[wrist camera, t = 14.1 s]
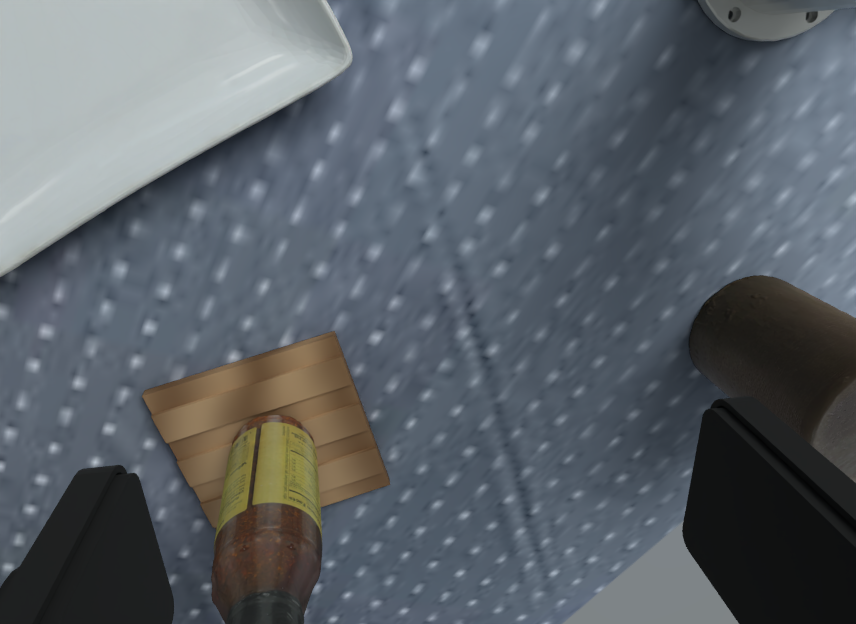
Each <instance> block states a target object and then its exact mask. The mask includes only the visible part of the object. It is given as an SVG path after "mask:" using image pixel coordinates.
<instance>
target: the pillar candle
mask: <svg viewBox="0 0 856 624" xmlns="http://www.w3.org/2000/svg"><path fill="white" fill-rule="evenodd" d="M689 348H690V355H691V358H692V361H693V363H694V365H695V366H696V368H697V369H698V370H699V371H700V372H701V373H702V374H703V375H704V376H705V377H707V378H708V379H709V380H710V381H711V382H712V383H714V384H715V385H716V386H717V387H718V388H719V389H721V390H722V391H723V392H724V393H725V394H727V395H728V396H729V397H730V398H735V397H744V396H750V397H754V398H755V399H757V400H758V401H759V402H761V403H762V404H763V405H764V406H765V407H767V408H768V409H769V410H770V411H771V412H772V413H774V414H775V415H776V416H777V417H778V418H780V419H781V420H782V421H783V422H784V423H785V424H787V425H788V426H789V427H790V428H791V429H793V430H794V431H795V432H796V433H797V434H798V435H800V436H801V437H802V438H803V439H804V440H806V441H807V442H808V443H809V444H810V445H811V446H813V447H814V448H815V449H816V450H817V451H819V452H820V453H821V454H822V455H823V456H824V457H826V458H827V459H828V460H829V461H830V462H832V463H833V464H834V465H835V466H836V467H837V468H839V469H840V470H841V471H842V472H843V473H845V474H846V475H847V476H848V477H849V478H851V479H852V480H853V481H854V482H855V483H856V318H854V317H852V316H851V315H849V314H847V313H845V312H842V311H840V310H838V309H837V308H835V307H833V306H831V305H829V304H828V303H825V302H823V301H822V300H820V299H818V298H816V297H814V296H812V295H810V294H808V293H807V292H805V291H803V290H801V289H798V288H796V287H795V286H793V285H791V284H789V283H787V282H785V281H783V280H781V279H778V278H774V277H769V276H763V275H760V276H750V277H745V278H742V279H741V280H740V279H739V280H737V281H734V282H732V283H731V284H729V285H727V286H725V287H724V288H723V289H721V290H720V291H719V292H718V293H716V294H714V295H713V296H712V297H711V298H710V299H709V300H708V301H707V302H706V303H705V305H704V306H703V308H702V309H701V310H700V312H699V314H698V316H697V318H696V319H695V322H694V324H693V327H692V330H691V334H690V340H689Z"/></svg>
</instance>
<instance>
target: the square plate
mask: <svg viewBox="0 0 856 624" xmlns="http://www.w3.org/2000/svg"><path fill="white" fill-rule="evenodd" d="M351 63H352V51H351V48H350V45H349V43H348V41H347V39H346V37H345V35H344V33H343V31H342V28H341V27H340V25H339V23H338V21H337V19H336V17H335V15H334V13H333V12H332V10H331V8H330V6H329V4H328V2H327V1H326V0H0V277H1V276H3V275H5V274H7V273H8V272H10V271H12V270H14V269H15V268H17V267H18V266H20V265H21V264H22V263H24V262H26V261H27V260H29V259H30V258H32V257H33V256H35V255H36V254H38V253H39V252H41V251H42V250H44V249H45V248H47V247H49V246H50V245H52V244H53V243H55V242H56V241H58V240H59V239H61V238H62V237H64V236H66V235H67V234H69V233H70V232H72V231H73V230H75V229H77V228H78V227H79V226H81V225H82V224H84V223H86V222H87V221H89V220H91V219H93V218H94V217H95V216H97V215H98V214H100V213H102V212H104V211H105V210H106V209H107V208H109V207H111V206H112V205H114V204H116V203H117V202H119V201H121V200H122V199H124V198H126V197H127V196H129V195H131V194H132V193H134V192H136V191H137V190H139V189H140V188H142V187H144V186H146V185H147V184H149V183H151V182H152V181H154V180H156V179H158V178H159V177H161V176H163V175H165V174H166V173H168V172H170V171H171V170H173V169H175V168H177V167H178V166H180V165H182V164H183V163H185V162H187V161H189V160H190V159H192V158H194V157H196V156H198V155H200V154H201V153H203V152H205V151H206V150H208V149H210V148H212V147H214V146H216V145H218V144H219V143H221V142H223V141H225V140H226V139H228V138H230V137H232V136H234V135H235V134H237V133H239V132H241V131H242V130H244V129H246V128H248V127H250V126H252V125H254V124H256V123H258V122H260V121H261V120H263V119H265V118H267V117H268V116H270V115H272V114H274V113H275V112H277V111H279V110H281V109H282V108H284V107H286V106H288V105H290V104H292V103H293V102H295V101H297V100H299V99H300V98H302V97H304V96H306V95H308V94H310V93H312V92H313V91H315V90H317V89H318V88H320V87H322V86H323V85H325V84H326V83H328V82H330V81H331V80H333V79H334V78H336V77H337V76H339V75H340V74H342V73H343V72H344V71H345V70H346V69H347V68H348V67H349V66H350V65H351Z"/></svg>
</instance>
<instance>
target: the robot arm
mask: <svg viewBox="0 0 856 624" xmlns="http://www.w3.org/2000/svg"><path fill="white" fill-rule="evenodd" d="M698 2H699V4H700V6H701V7H702V9H703V11H704V12H705V14H706V15H707V16H708V17H709V18H710V19H711V20H712V22H713V23H714V24H715V25H716V26H718V27H719V28H721V29H722V30H724V31H725V32H726V33H728V34H730V35H732V36H735V37H738V38H740V39H743V40H750V41H758V42H761V41H778V40H782V39H787V38H791V37H794V36H797V35H799V34H801V33H803V32H806V31H808V30H810V29H811V28H813V27H814V26H816V25H817V24H819V23H820V22H822V21H823V20H825V19H826V18H827V17H828V16H829V15H830V14H832V13H833V12H834V11H835V10H836V9H848V8H856V0H698ZM728 14H729V16H728ZM682 532H683V538H684V542H685V544H686V547H687V549H688V550H689V552H690V553H691V555H692V556H693V558H694V559H695V561H696V562H697V564H698V565H699V566H700V568H701V569H702V571H703V572H704V574H705V575H706V576H707V578H708V579H709V581H710V582H711V584H712V585H713V586H714V588H715V589H716V591H717V592H718V594H719V595H720V596H721V598H722V599H723V601H724V602H725V604H726V605H727V607H728V608H729V610H730V611H731V612H732V614H733V615H734V617H735V618H736V620H737V621H738V623H739V624H856V483H855V482H854V481H853V480H852V479H851V478H849V477H848V476H847V475H846V474H845V473H843V472H842V471H841V470H840V469H839V468H837V467H836V466H835V465H834V464H833V463H832V462H830V461H829V460H828V459H827V458H826V457H824V456H823V455H822V454H821V453H820V452H819V451H817V450H816V449H815V448H814V447H813V446H811V445H810V444H809V443H808V442H807V441H806V440H804V439H803V438H802V437H801V436H800V435H798V434H797V433H796V432H795V431H794V430H793V429H791V428H790V427H789V426H788V425H787V424H785V423H784V422H783V421H782V420H781V419H780V418H778V417H777V416H776V415H775V414H774V413H772V412H771V411H770V410H769V409H768V408H767V407H765V406H764V405H763V404H762V403H761V402H759V401H758V400H757V399H755V398H754V397H750V396H744V397H735V398H726V399H718V400H716V401H714V403H713V404H712V406H711V409H708V410H706V411H705V412H704V414H703V417H702V423H701V428H700V434H699V440H698V445H697V451H696V456H695V462H694V467H693V473H692V478H691V484H690V489H689V495H688V500H687V506H686V511H685V517H684V522H683V530H682ZM173 614H174V600H173V595H172V591H171V588H170V584H169V581H168V577H167V574H166V570H165V567H164V563H163V560H162V556H161V553H160V549H159V546H158V542H157V539H156V535H155V532H154V528H153V525H152V521H151V518H150V514H149V511H148V507H147V504H146V500H145V497H144V493H143V490H142V486H141V483H140V480H139V477H138V476H137V474H135V473H129V474H127V472H126V470H125V468H124V467H123V466H121V465H115V466H106V467H96V468H87V469H82V470H79V471H78V472H77V474H76V475H75V476H74V478H73V480H72V481H71V483H70V484H69V486H68V488H67V489H66V491H65V493H64V494H63V496H62V498H61V499H60V501H59V503H58V504H57V506H56V508H55V509H54V511H53V513H52V514H51V516H50V518H49V519H48V521H47V522H46V524H45V526H44V527H43V529H42V531H41V532H40V534H39V536H38V537H37V539H36V541H35V542H34V544H33V546H32V547H31V549H30V551H29V552H28V554H27V556H26V557H25V559H24V560H23V562H22V564H21V565H20V567H18V568H17V569H15V570H14V571H12V572H11V574H10V575H9V576H8V577H7V579H6V580H5V581H4V583H3V584H2V586H1V588H0V624H172V620H173Z"/></svg>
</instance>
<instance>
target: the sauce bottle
mask: <svg viewBox="0 0 856 624" xmlns="http://www.w3.org/2000/svg"><path fill="white" fill-rule="evenodd" d="M214 555H215V557H214V561H213V566H212V576H211V580H212V601H213V603H214V604H215V605H216V607H217V609H218V611H219V612H220V614H221V616H222V618H223V620H224V622H225V624H304V613H305V610H306V607H307V604H308V601H309V598H310V595H311V593H312V590H313V588H314V586H315V584H316V582H317V581H318V578H319V576H320V570H321V560H322V530H321V509H320V492H319V478H318V462H317V451H316V448H315V445H314V439H313V437H312V435H311V434H310V433H309V431H308V430H307V429H306V428H305V427H304V426H303V425H302V424H301V423H300V422H299V421H297V420H296V419H295V418H292V417H290V416H284V415H268V416H260V417H257V418H255V419H252V420H251V421H249V422H248V423H247V424H245V425H244V426H243V428H242V429H241V430H240V431H239V432H238V433H237V435H236V436H235V438H234V440H233V443H232V447H231V450H230V453H229V456H228V462H227V468H226V474H225V481H224V487H223V494H222V500H221V506H220V513H219V519H218V524H217V530H216V536H215V542H214Z"/></svg>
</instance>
